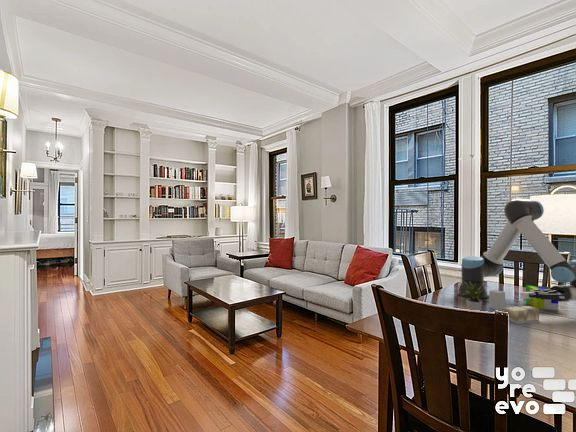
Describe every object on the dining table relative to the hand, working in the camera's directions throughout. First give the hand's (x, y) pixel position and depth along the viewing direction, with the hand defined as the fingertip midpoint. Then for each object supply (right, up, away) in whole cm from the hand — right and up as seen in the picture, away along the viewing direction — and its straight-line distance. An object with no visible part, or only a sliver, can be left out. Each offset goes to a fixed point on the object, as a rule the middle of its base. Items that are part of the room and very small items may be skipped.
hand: (521, 295), depth 145 cm
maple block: (+7, -9, +1) cm, 11 cm away
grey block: (0, -11, +17) cm, 21 cm away
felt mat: (-1, -11, 0) cm, 12 cm away
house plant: (-17, -12, +12) cm, 24 cm away
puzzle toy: (+26, -11, +20) cm, 35 cm away
